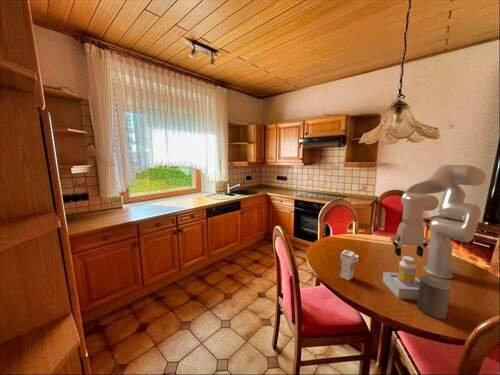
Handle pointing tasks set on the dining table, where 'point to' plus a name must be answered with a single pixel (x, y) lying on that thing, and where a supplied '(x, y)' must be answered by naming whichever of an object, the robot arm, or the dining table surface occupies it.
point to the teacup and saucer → (356, 257)
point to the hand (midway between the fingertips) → (408, 255)
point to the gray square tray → (401, 286)
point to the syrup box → (347, 265)
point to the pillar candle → (433, 296)
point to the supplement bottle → (407, 271)
